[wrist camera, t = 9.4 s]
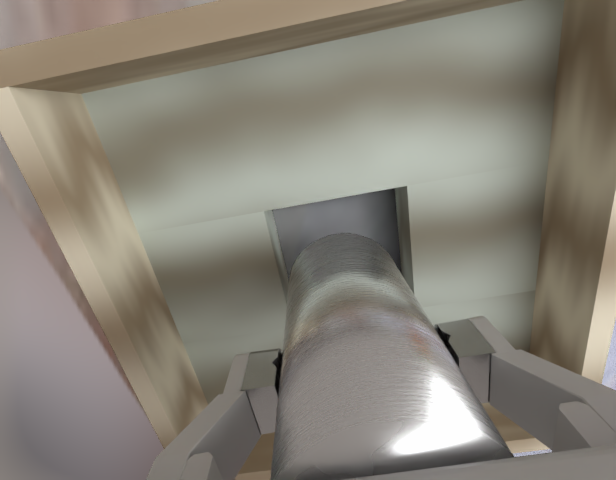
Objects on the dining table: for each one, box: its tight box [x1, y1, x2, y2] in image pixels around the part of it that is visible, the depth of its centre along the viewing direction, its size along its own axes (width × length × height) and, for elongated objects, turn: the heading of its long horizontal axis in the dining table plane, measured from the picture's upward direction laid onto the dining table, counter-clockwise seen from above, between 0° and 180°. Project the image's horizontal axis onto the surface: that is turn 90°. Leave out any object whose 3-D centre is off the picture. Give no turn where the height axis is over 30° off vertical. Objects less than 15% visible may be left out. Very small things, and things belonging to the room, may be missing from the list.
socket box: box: [0, 0, 616, 480], centre depth 16 cm, size 22×22×6 cm
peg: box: [270, 233, 514, 480], centre depth 10 cm, size 5×5×9 cm
